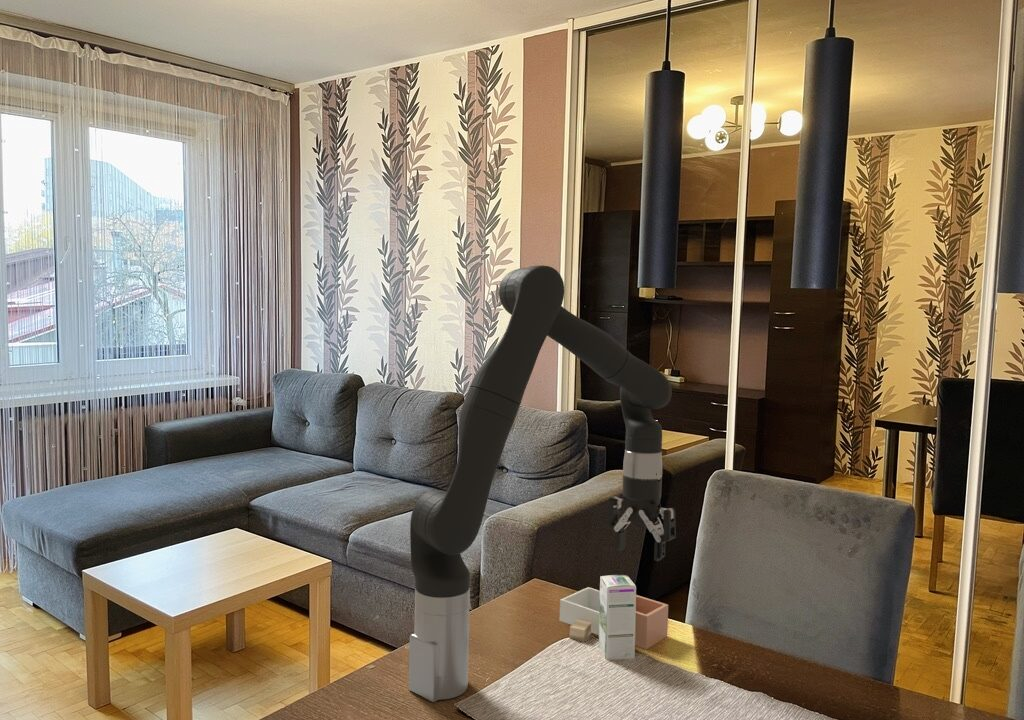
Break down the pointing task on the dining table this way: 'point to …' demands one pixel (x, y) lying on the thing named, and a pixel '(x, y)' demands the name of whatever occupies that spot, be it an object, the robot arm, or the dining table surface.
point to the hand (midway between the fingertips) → (639, 554)
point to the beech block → (580, 630)
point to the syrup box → (617, 617)
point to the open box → (650, 622)
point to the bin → (582, 608)
